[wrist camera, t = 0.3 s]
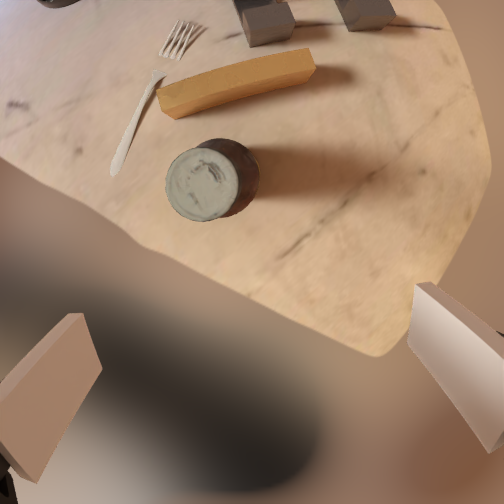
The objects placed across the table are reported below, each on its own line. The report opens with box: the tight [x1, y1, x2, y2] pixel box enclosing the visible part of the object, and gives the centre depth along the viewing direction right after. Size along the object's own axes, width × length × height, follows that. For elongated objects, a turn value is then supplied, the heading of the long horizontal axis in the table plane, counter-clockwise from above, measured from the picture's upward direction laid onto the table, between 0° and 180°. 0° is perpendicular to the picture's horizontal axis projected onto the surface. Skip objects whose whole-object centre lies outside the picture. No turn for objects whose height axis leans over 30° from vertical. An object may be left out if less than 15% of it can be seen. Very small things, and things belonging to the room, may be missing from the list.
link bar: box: [156, 48, 316, 120], centre depth 29 cm, size 2×16×6 cm, turn 106°
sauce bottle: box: [165, 138, 260, 222], centre depth 25 cm, size 7×6×20 cm
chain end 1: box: [232, 0, 296, 47], centre depth 26 cm, size 10×5×5 cm, turn 17°
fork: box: [110, 19, 195, 177], centre depth 32 cm, size 3×24×2 cm, turn 154°
